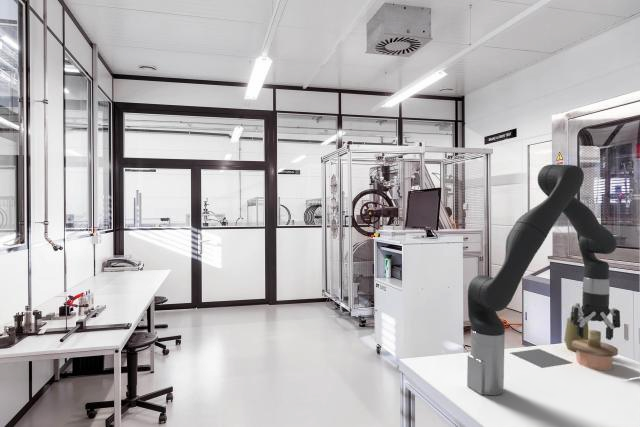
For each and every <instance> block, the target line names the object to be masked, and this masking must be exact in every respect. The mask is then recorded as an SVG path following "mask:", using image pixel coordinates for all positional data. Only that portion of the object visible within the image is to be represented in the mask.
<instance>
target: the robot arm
mask: <svg viewBox="0 0 640 427" xmlns="http://www.w3.org/2000/svg"><path fill="white" fill-rule="evenodd" d="M583 170H584V169H582V168H581V166H578V165H573V164H556V163H555V164H547V165H545V166H543V167H541V168H540V170H539V172H538V174H537V184H538V186H539V188H540V190H541V191H542V193H544V194H545V196H547V197H546V198H545V199H544V200H543V201H542V202H540V203H539V204H537V205H536V206H535V207H533V208H531V209H529V210H528V211H526V212H525V213H524V214H522V215H521V216H520V217H519V218H518V219H517V220H516V221H515V223H514V225H513V226H512V228H511V229H510V231H509V233H508V235H507V238H506V242H505V255H504V256H505V257H504V261H503V264H502V266H501V267H500V269H499V270H498V271H497V273H496V274H495V276H494V277H492V276H487V275H485V274H484V275H483V274H481V275H477V276H475V277H474V278H472V280H470V283H469V285H468V289H467V313H468V314H467V315H468V320H469V323H470V354H467V366H466V367H467V369H466V370H467V375H466V376H467V378H466V379H467V380H466V386H467V387H468V388H469V389H471V390H473V391H475V392H476V393H478V394H479V395H483V396H484V395H486V396H499V395H502V394H503V393H504V386H505V385H504V382H505V376H504V375H505V341H506V340H505V339H506V338H505V337H506V336H505V335H506V334H505V332H506V326H505V325H506V324H505V323H504V322H503V320H502V319H501V318H500V317H499V316H498V314H497V312H501V311H503V310H505V309H506V308H507V307H508V306H509V304H510V303H511V302H512V300H513V298H514V296H515V294H516V292H517V289H518V288H519V285H520V283H521V281H522V280H523V277H524V275H525V273H526V271H527V270H528V268H529V266H530V265H531V263H532V261H533V259H534V257H535V256H536V254H537V253H538V252H539V250H540V248H541V247H542V245H543V244H544V242H545V240H546V238H547V237H548V235H549V234H550V232H551V230H552V228H554V226H555V224H556V222H557V221H558V219H559V218H560V216H561V215H562V214H564V216H565V217H566V218H567V219H568V221H569V222H570V224H571V226H572V227H573V229H574V230H575V232H576V233H577V235H578V236H579V238H578V247H579V251H580V253H581V258H582V262H583V280H582V301H581V302H582V305H581V306H580V307H581V308H580V307H575V305H572V307H571V311H570V312H571V323H573V324H574V325H577V335H578V336H579V337H580V338H583V331H584V328H583V326H584V325H585V324H586V323H588V324H589V322H590V321H591V322H599V323H600V322H601V323H602V322H603V323H604V324H605V325H606V327H605V338H606V340H608V341H612V339H613V338H614V330H615V329H616V328H618V329H619V328H620V327H621V313H620V312H621V311H620V310H619V309H617V308H615V307H614V308H610V307H609V306H610V265H609V263H608V262H607V261H605V260H601V259H599V258H597V256H596V254H599V255H601V254H602V255H609V254H612V253H614V252H615V251H616V249H617V246H618V245H617V239H616V237H615V235H614V234H613V233H612V232H611V231H610V230H608V229H607V228H606V227H605V226H604V225H602V224H601V223H600V222H599V220H598V219H597V217H596V215H595V212H593V210H592V209H591V208H590V207H588V205H586V204H584V203H583V202H582V201H581V200H579V199H577V198H576V195H578V193H579V191H580V190H581V187H582V186H583V183H584V179H585V174H584V173H585V172H584V171H583ZM580 312H582V313H583V315H582V316H581V317H580V319H579V320H578V314H579V313H580ZM609 315H612V316H611V318H612V321H611V320H610V319H609V317H608V316H609Z"/></svg>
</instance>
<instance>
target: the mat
mask: <svg viewBox="0 0 640 427" xmlns="http://www.w3.org/2000/svg"><path fill="white" fill-rule="evenodd" d="M509 354H511V355H513V356H515V357H518V358H519V359H521V360H524V361H526V362H529V363H530V364H532V365H534V366H537V367H539V368H542V369H543V368H549V367H550V368H551V367H555V366H562V365H563V366H564V365H568V364H573V361H570V360H567V359H565V358H562V357H560V356H558V355H555V354H553V353H550V352H548V351H545V350H543V349H541V348H535V349H529V350H522V351H520V350H519V351H513V352H509Z"/></svg>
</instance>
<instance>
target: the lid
mask: <svg viewBox="0 0 640 427" xmlns="http://www.w3.org/2000/svg"><path fill="white" fill-rule="evenodd" d="M601 335H602V332H601V331H599V330H595V329H588V340H574V341H572V347H573V348H574V349H576V350H578V351H580V352H583V353H586V354H591V355H596V356H604V357H612V356H613V357H616V356H618V353H619V350H618V348H617V347H615V346H613V345H611V344H609V343H606V342H602V341H601V340H602V339H601V338H602V336H601Z"/></svg>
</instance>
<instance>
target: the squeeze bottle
mask: <svg viewBox="0 0 640 427" xmlns="http://www.w3.org/2000/svg"><path fill="white" fill-rule="evenodd" d="M574 306H575V307H580V308H581V307H582V306H581V304H580V303H577V302H576V303H575V305H574ZM571 312H572V311H570V312H569V314H570V315H569V316H570V317H567V320H566V327H565V332H564V333H565V334H564V340H563V341H564V342H565V346H566V348H567V350H568V351H570V352H573V353H576V351H577V350H576V349H574V348H573V347H572V341H574V340H588V330H589V322H588V323H586V324H585V325H584V326H583V328H584V331H583V338H580V337H579V336H578V335H577V325H574V324H573V323H571ZM582 315H583V312H582V311H581V312H580V313H579V314H578V320H579V319H580V317H581V316H582Z"/></svg>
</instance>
